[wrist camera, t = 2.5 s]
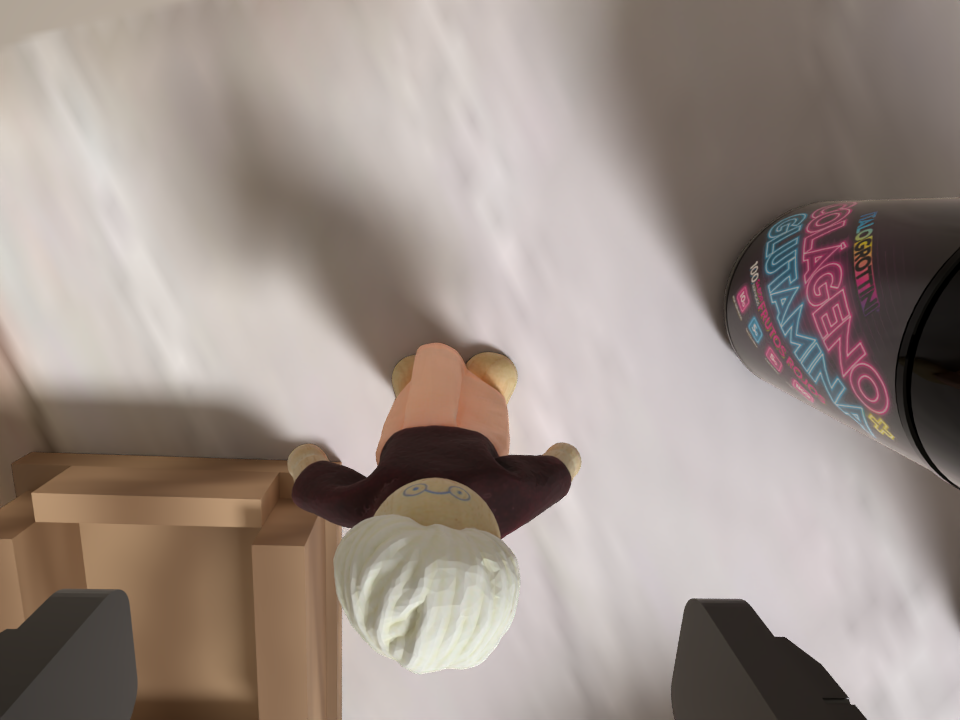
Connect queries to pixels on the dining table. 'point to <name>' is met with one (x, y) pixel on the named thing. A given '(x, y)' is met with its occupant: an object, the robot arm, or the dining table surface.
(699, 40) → the dining table surface
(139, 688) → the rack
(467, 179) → the dining table surface
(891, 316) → the supplement container
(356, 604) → the grandmother figurine
